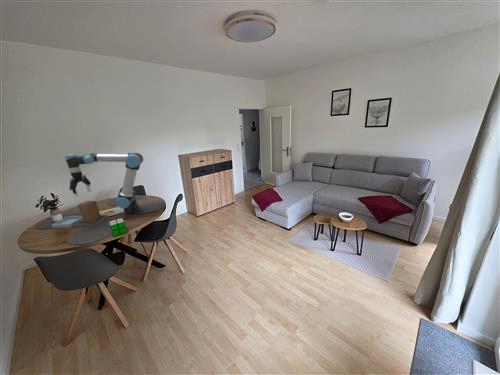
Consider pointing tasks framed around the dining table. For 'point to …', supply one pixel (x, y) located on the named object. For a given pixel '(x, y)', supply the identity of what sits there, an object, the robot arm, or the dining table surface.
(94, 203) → the wooden block
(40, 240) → the dining table surface
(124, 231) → the puzzle cube
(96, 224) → the collar
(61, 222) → the bin
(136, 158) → the robot arm
